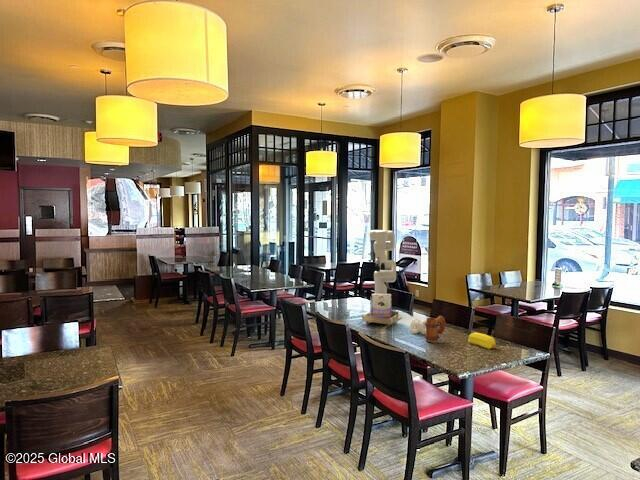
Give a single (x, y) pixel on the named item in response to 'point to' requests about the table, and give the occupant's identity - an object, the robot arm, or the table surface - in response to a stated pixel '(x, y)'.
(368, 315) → the tray
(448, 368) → the table surface
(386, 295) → the candy box
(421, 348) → the table surface
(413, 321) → the cream twisted loop
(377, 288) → the robot arm
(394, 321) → the track
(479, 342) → the yellow rounded bar
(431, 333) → the mug
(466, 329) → the table surface
